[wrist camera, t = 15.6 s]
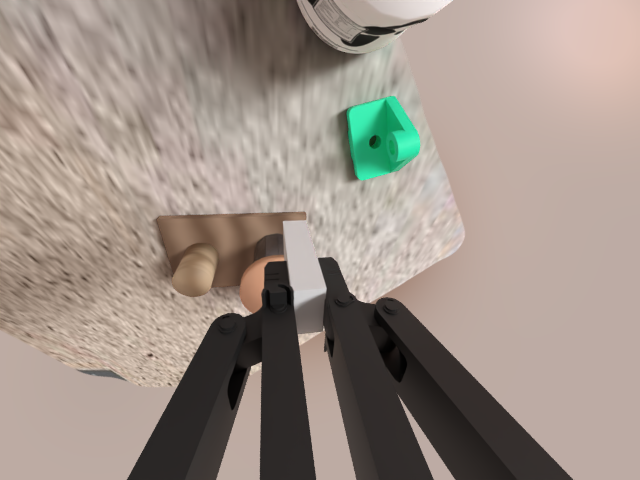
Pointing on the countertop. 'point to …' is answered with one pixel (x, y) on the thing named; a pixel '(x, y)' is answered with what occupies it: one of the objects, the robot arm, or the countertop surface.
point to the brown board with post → (215, 246)
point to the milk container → (365, 21)
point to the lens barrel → (269, 246)
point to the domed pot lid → (255, 283)
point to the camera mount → (381, 137)
